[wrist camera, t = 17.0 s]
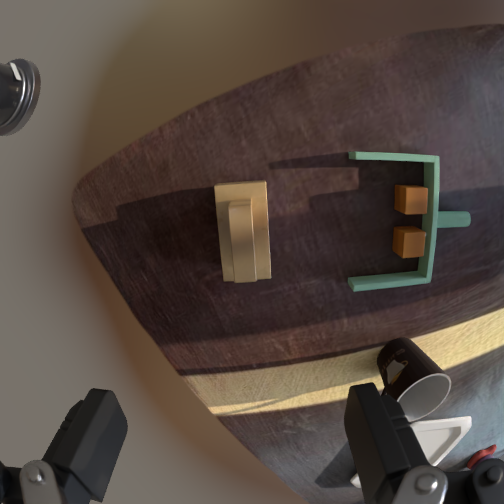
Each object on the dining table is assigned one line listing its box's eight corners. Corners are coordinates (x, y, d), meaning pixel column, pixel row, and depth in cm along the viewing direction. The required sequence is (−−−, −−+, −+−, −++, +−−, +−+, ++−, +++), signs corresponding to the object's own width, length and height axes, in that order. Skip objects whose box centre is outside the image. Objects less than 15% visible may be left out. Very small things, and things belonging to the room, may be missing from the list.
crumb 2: (391, 250, 35) (402, 258, 32) (393, 226, 34) (404, 233, 31) (412, 248, 35) (423, 256, 32) (413, 225, 34) (425, 231, 31)
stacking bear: (497, 442, 54) (519, 479, 37) (481, 461, 57) (500, 497, 40) (476, 451, 54) (498, 491, 37) (459, 470, 57) (478, 509, 40)
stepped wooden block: (269, 266, 35) (273, 295, 28) (226, 269, 35) (220, 298, 28) (264, 179, 32) (268, 186, 25) (217, 182, 32) (208, 190, 25)
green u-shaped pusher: (347, 283, 36) (353, 291, 34) (348, 151, 31) (355, 151, 29) (454, 271, 36) (464, 278, 33) (463, 158, 31) (474, 159, 28)
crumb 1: (394, 209, 33) (405, 214, 30) (394, 184, 32) (406, 187, 29) (414, 209, 33) (426, 214, 30) (415, 184, 32) (427, 187, 29)
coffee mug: (412, 320, 38) (445, 361, 28) (426, 356, 40) (455, 396, 31) (343, 364, 40) (362, 414, 30) (364, 395, 42) (382, 440, 33)
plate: (398, 415, 44) (401, 423, 42) (476, 409, 46) (480, 416, 44) (340, 482, 52) (342, 489, 50) (419, 473, 54) (422, 479, 52)
